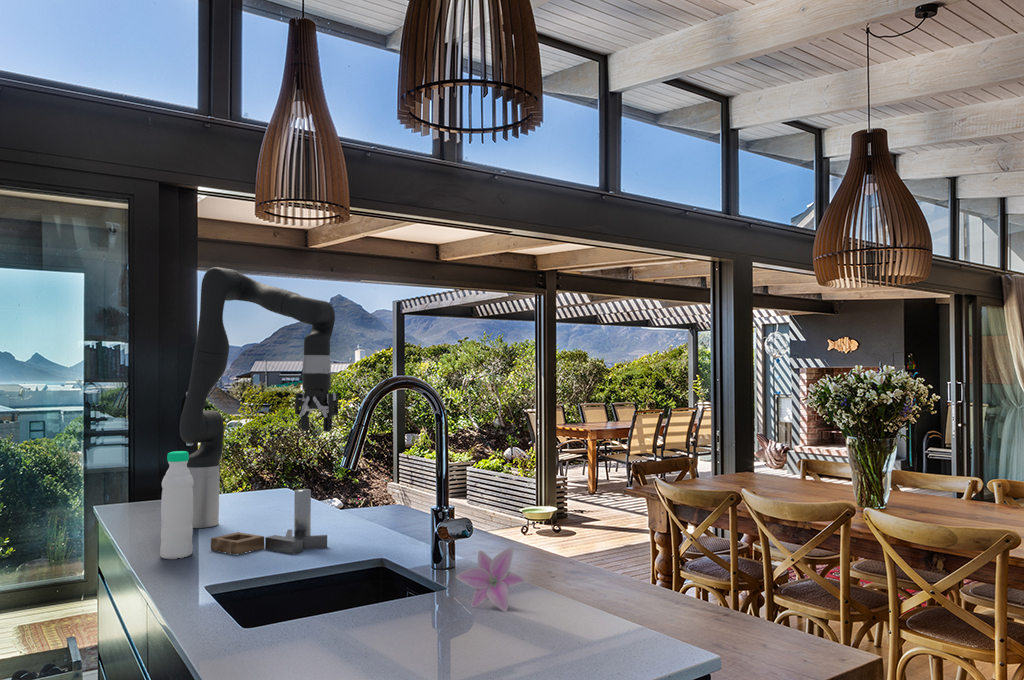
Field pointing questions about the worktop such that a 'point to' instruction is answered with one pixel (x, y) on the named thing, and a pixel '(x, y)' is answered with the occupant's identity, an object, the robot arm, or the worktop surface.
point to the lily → (491, 578)
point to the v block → (294, 543)
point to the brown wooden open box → (237, 543)
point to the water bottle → (177, 508)
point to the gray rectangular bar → (302, 512)
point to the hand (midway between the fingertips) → (316, 431)
